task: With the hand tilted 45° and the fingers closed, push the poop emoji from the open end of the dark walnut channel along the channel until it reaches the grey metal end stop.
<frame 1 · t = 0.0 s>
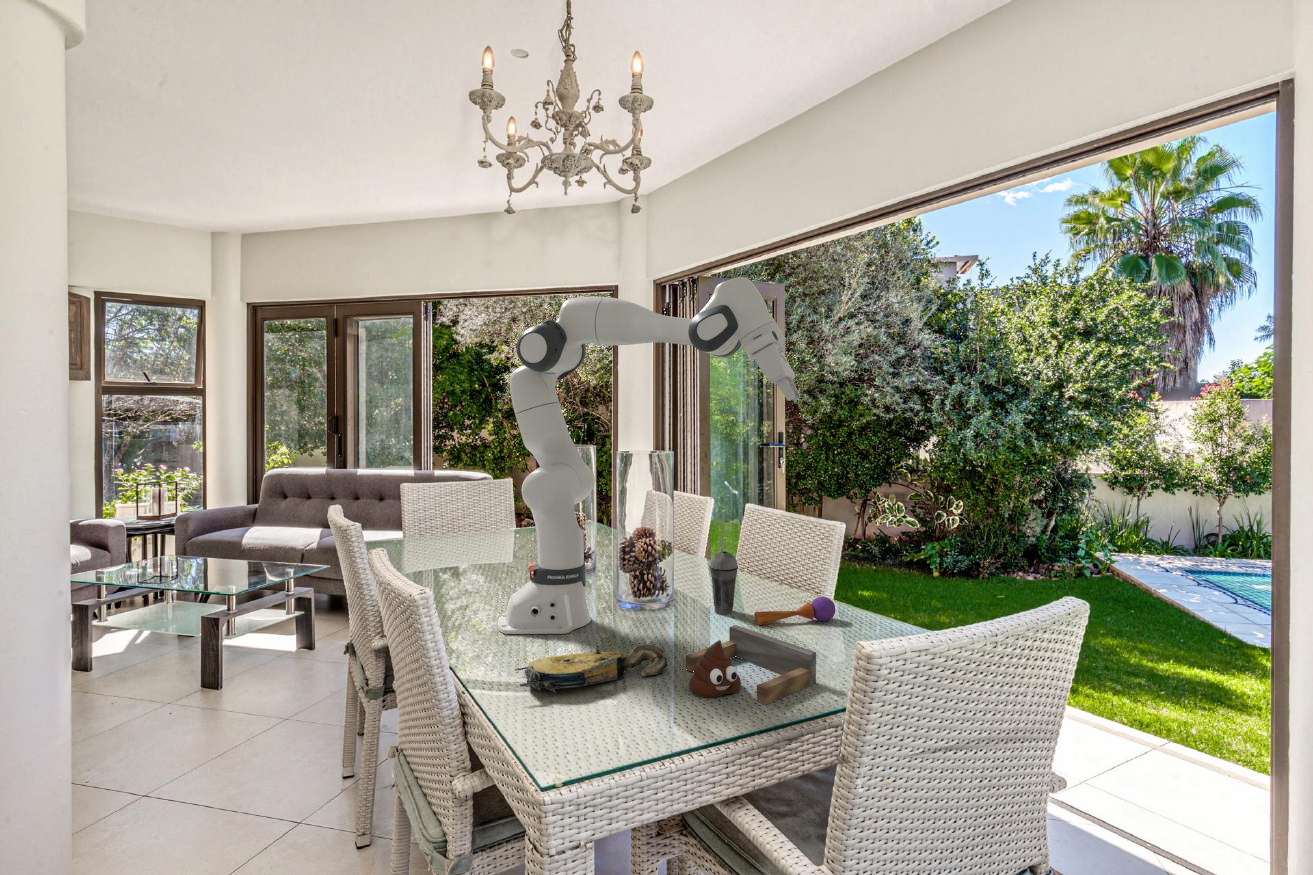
hand: (794, 399, 150), 54 cm above the table, tool tilted 30°, fingers open, 8 cm apart
beverage cup: (723, 612, 177), on the table
channel: (737, 680, 134), on the table
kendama: (795, 623, 169), on the table
poop emoji: (715, 690, 130), on the table
pulley block: (594, 680, 135), on the table
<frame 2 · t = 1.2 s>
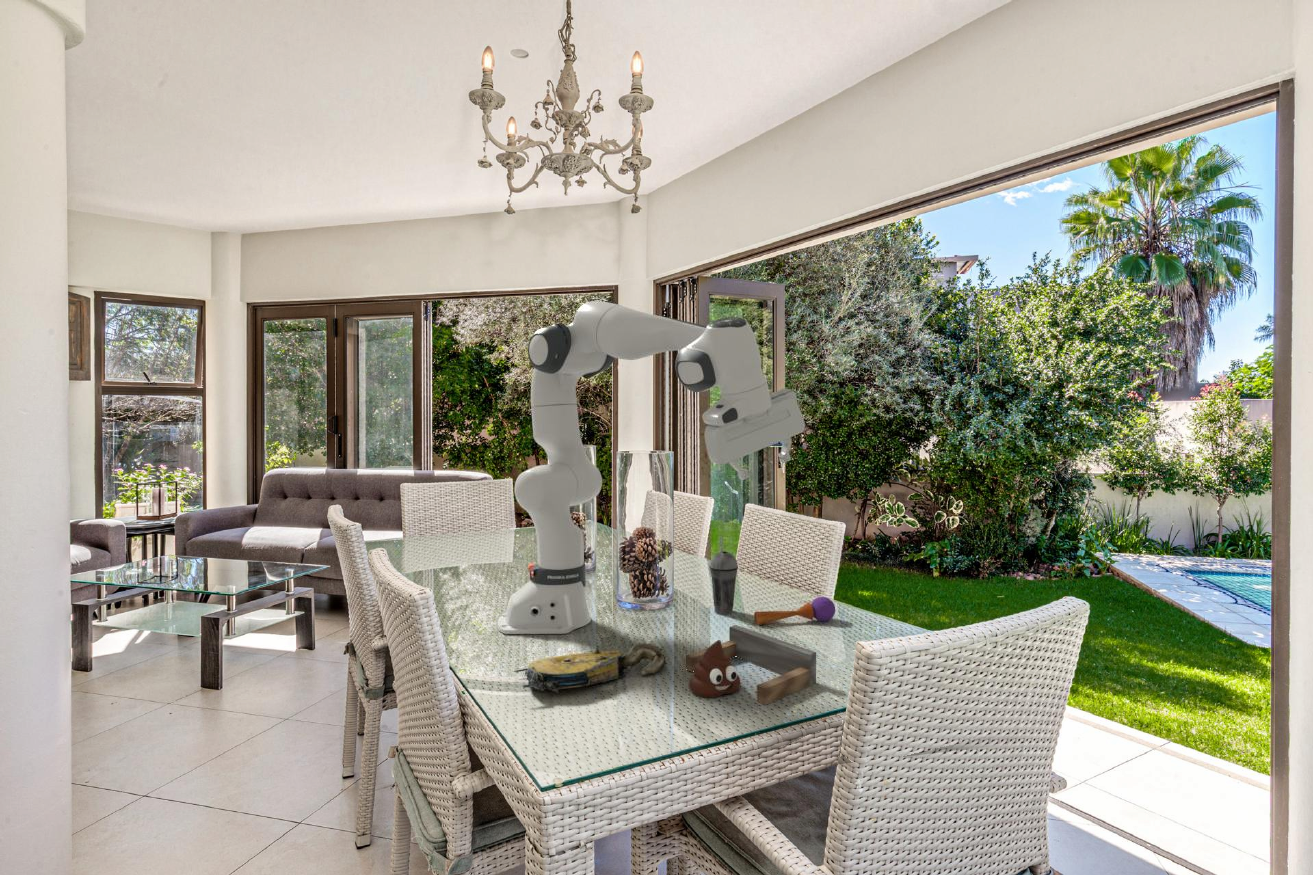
hand: (765, 469, 134), 41 cm above the table, tool tilted 20°, fingers open, 8 cm apart
nothing on the table moved.
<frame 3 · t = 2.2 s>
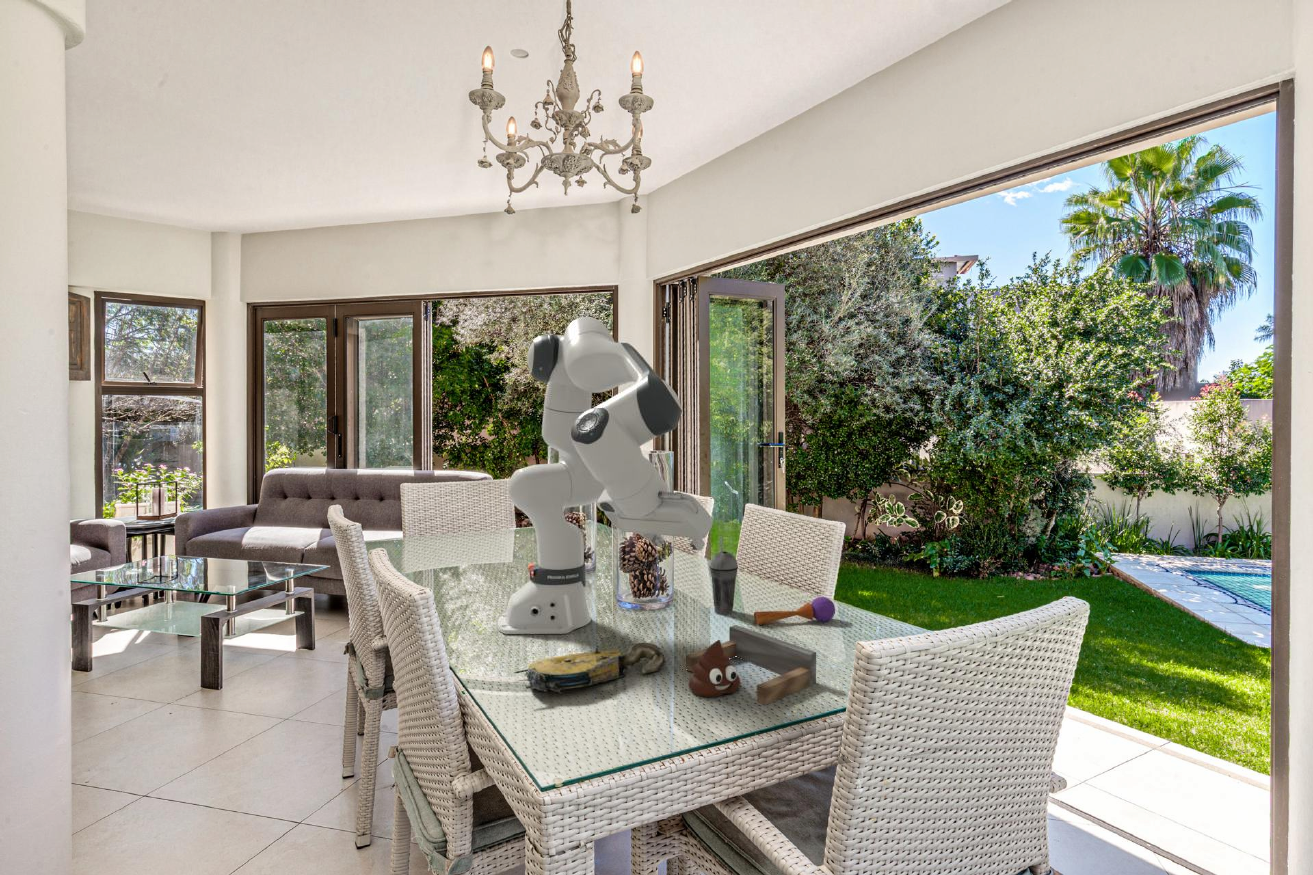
hand: (679, 545, 121), 29 cm above the table, tool tilted 40°, fingers open, 8 cm apart
nothing on the table moved.
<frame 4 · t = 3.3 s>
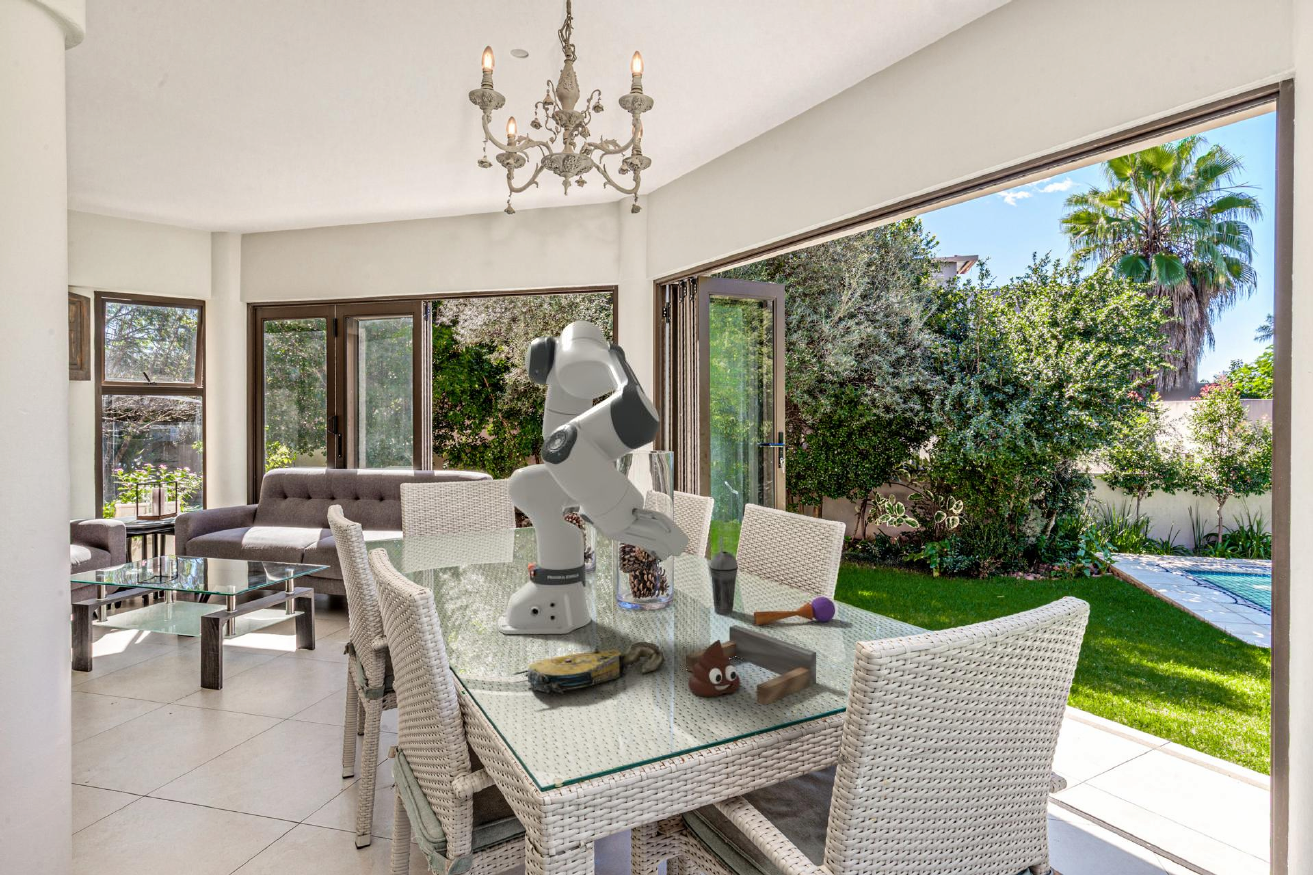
hand: (662, 556, 120), 27 cm above the table, tool tilted 45°, fingers closed
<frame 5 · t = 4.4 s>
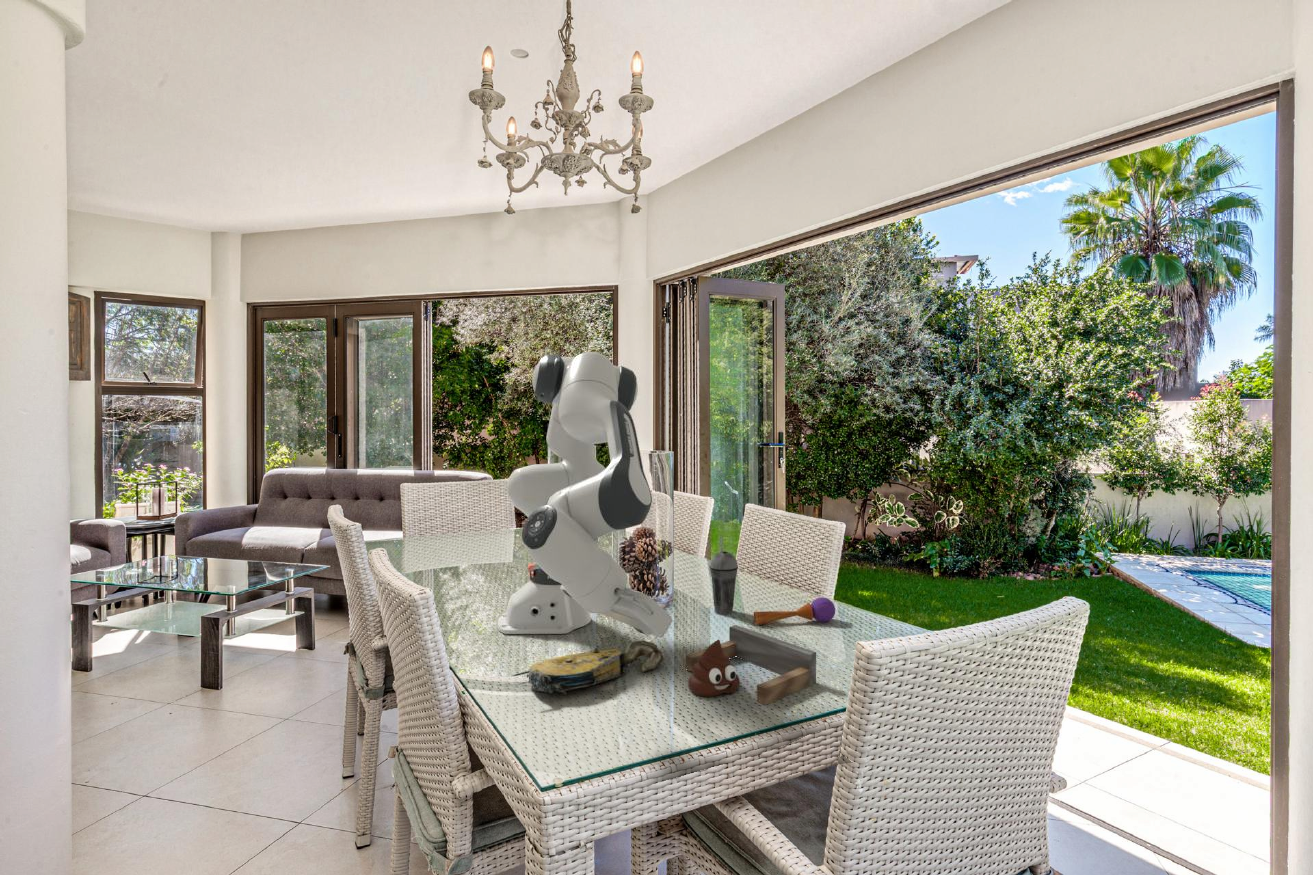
hand: (646, 630, 118), 15 cm above the table, tool tilted 45°, fingers closed
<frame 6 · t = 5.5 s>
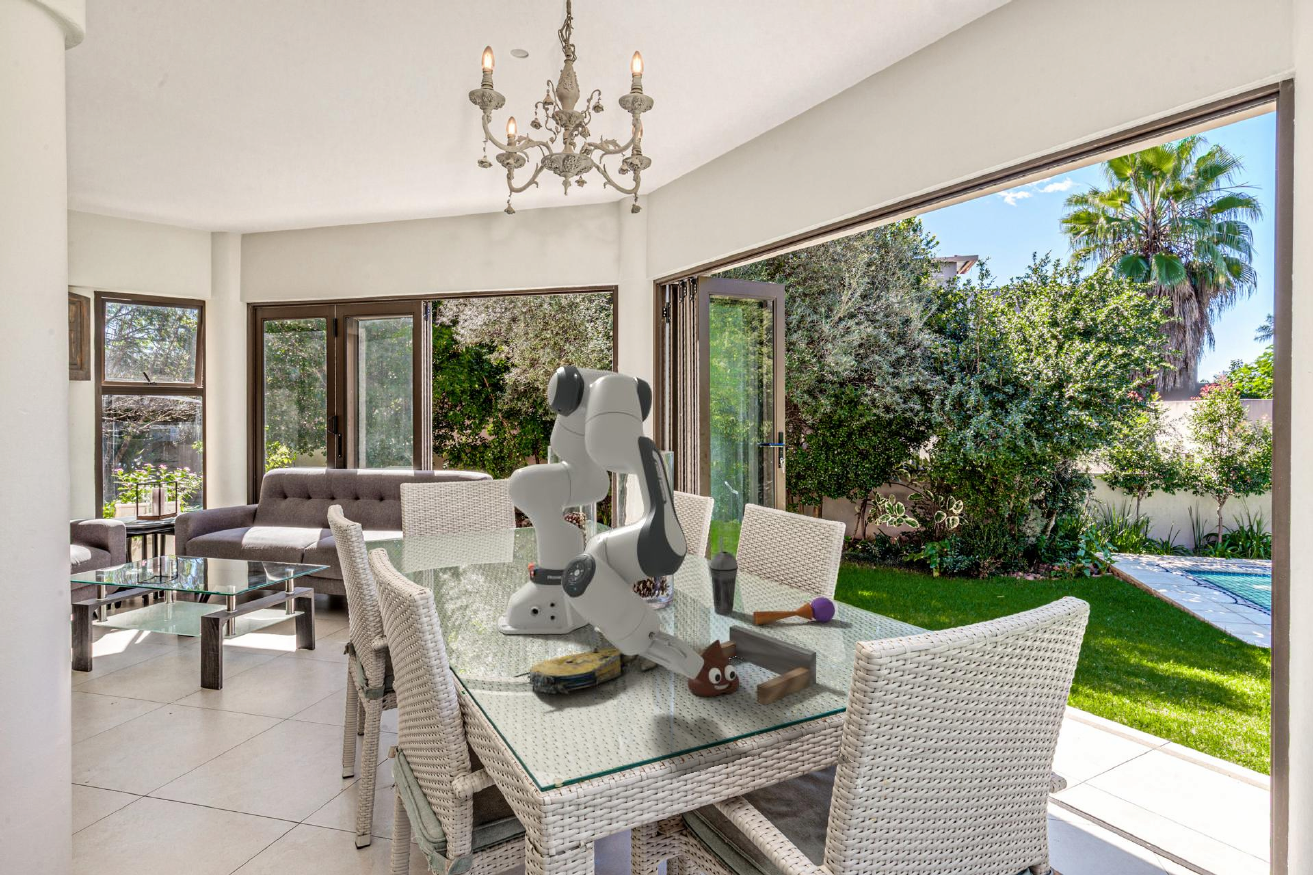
hand: (676, 668, 123), 7 cm above the table, tool tilted 45°, fingers closed
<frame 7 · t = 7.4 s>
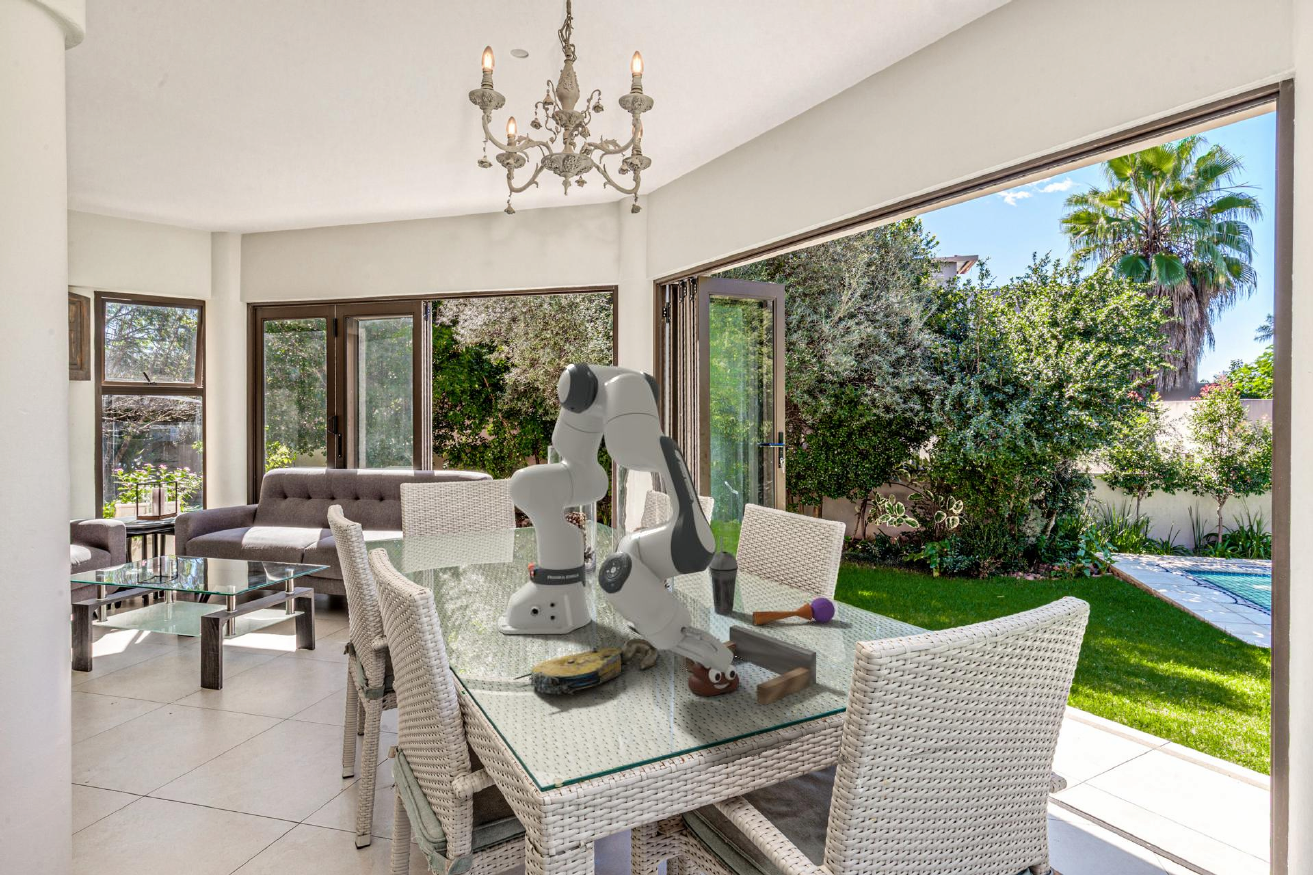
hand: (705, 662, 128), 6 cm above the table, tool tilted 45°, fingers closed
poop emoji: (714, 689, 131), on the table, touching gripper
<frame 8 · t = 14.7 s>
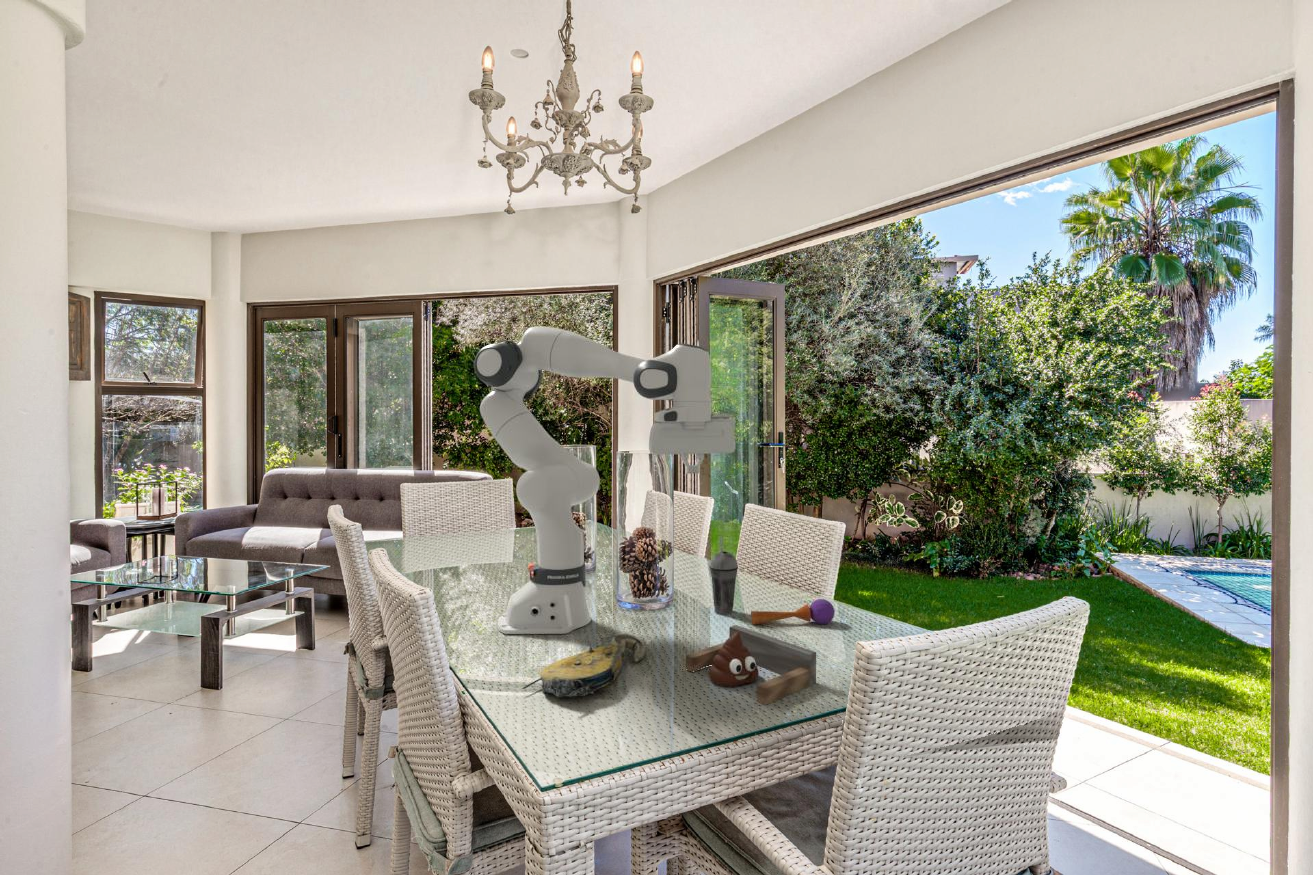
hand: (692, 473, 161), 37 cm above the table, tool pointing down, fingers closed
poop emoji: (734, 680, 135), on the table
at the end: poop emoji 2.2 cm from the target spot on the channel, point 0.0 cm above the channel's base; poop emoji tilted 0°; poop emoji moved 6.2 cm from its start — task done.
